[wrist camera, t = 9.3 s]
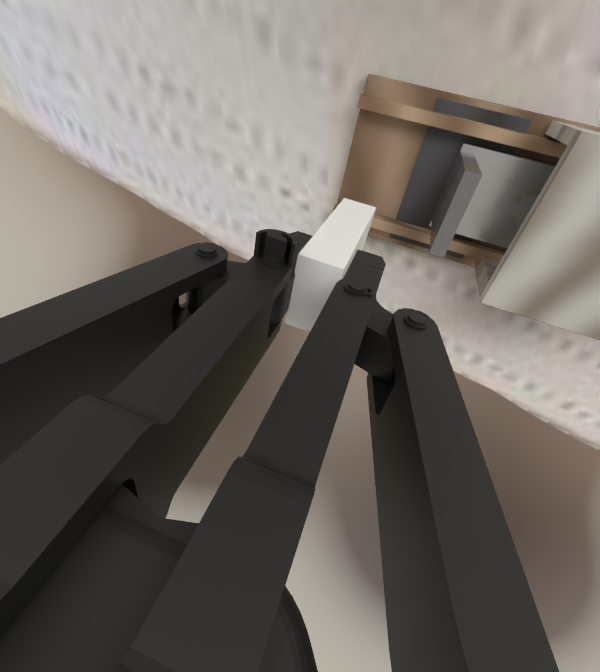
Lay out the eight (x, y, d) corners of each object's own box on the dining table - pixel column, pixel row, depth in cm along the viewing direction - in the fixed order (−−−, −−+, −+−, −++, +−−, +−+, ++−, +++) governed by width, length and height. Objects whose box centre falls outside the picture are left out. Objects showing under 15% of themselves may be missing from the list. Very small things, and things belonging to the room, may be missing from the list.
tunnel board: (334, 221, 42) (311, 251, 34) (370, 74, 33) (349, 72, 26) (735, 340, 36) (811, 408, 28) (906, 199, 27) (1080, 244, 20)
